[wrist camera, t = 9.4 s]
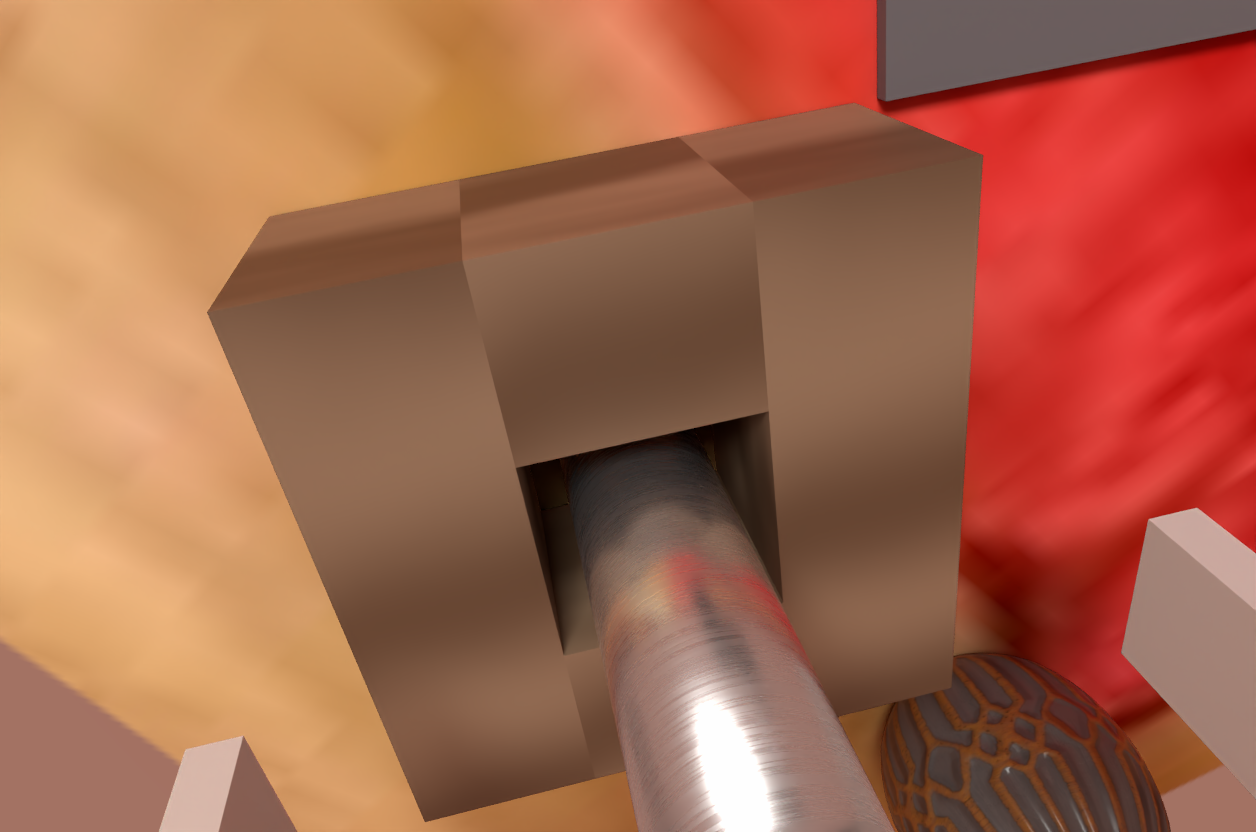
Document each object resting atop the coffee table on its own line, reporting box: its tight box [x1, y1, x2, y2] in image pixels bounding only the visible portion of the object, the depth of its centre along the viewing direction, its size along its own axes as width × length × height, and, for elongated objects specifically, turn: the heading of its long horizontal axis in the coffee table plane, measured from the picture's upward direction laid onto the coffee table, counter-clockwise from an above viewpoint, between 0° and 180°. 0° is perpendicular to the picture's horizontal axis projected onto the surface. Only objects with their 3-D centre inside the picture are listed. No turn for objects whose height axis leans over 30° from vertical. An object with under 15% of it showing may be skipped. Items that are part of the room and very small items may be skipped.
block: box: [207, 103, 983, 822], centre depth 18 cm, size 12×12×5 cm
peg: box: [560, 428, 895, 832], centre depth 15 cm, size 3×3×12 cm
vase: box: [881, 653, 1171, 832], centre depth 24 cm, size 7×7×9 cm
